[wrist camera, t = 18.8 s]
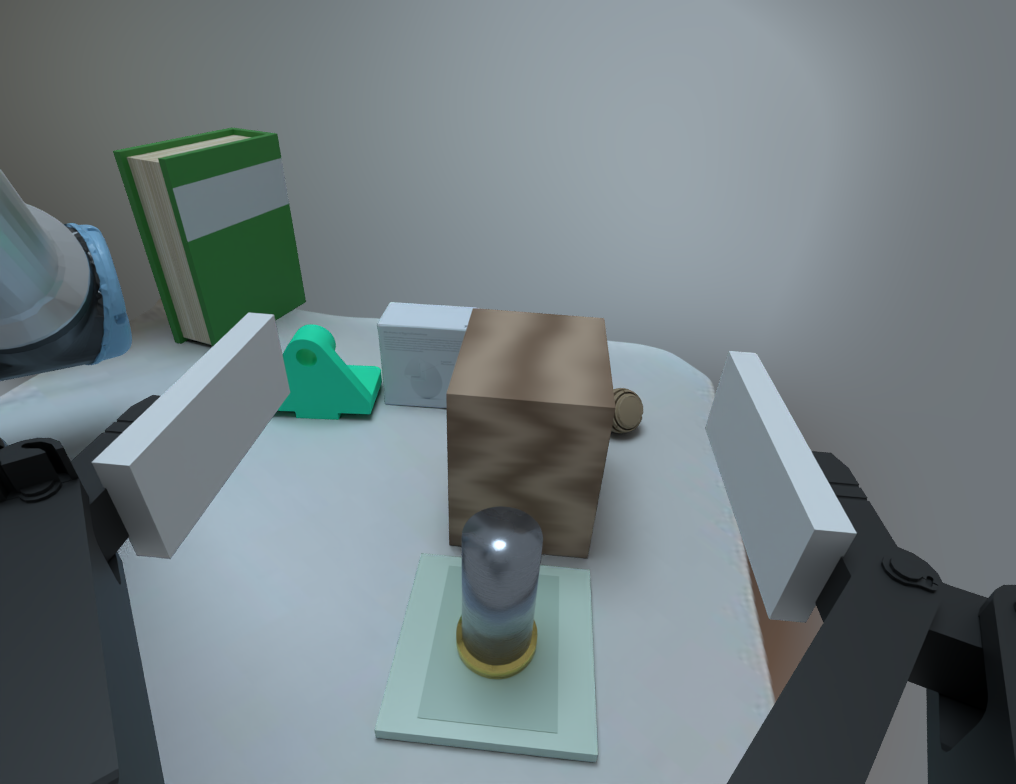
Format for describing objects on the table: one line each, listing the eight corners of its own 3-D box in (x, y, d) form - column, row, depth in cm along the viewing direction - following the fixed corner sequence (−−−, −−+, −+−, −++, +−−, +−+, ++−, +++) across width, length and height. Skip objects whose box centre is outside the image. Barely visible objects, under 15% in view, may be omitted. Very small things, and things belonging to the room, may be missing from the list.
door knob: (593, 437, 63) (599, 401, 60) (597, 412, 67) (603, 376, 64) (638, 445, 62) (647, 408, 59) (639, 419, 66) (647, 383, 63)
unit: (449, 545, 49) (446, 393, 40) (471, 443, 61) (472, 308, 52) (593, 558, 49) (623, 408, 40) (588, 453, 60) (610, 318, 51)
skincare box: (478, 381, 71) (479, 305, 65) (472, 411, 66) (473, 331, 60) (395, 375, 71) (389, 298, 65) (383, 404, 66) (375, 324, 60)
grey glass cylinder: (450, 674, 39) (447, 570, 32) (462, 601, 43) (462, 498, 37) (534, 683, 38) (548, 580, 32) (537, 608, 43) (550, 506, 37)
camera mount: (384, 384, 70) (376, 308, 64) (371, 422, 63) (362, 341, 58) (286, 380, 69) (270, 304, 64) (263, 418, 63) (243, 336, 57)
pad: (375, 737, 36) (374, 729, 35) (421, 561, 48) (421, 552, 47) (595, 762, 35) (597, 754, 35) (588, 577, 47) (589, 569, 46)
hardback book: (219, 354, 73) (164, 159, 60) (175, 342, 76) (112, 151, 62) (305, 301, 87) (277, 133, 74) (266, 292, 89) (231, 127, 76)
